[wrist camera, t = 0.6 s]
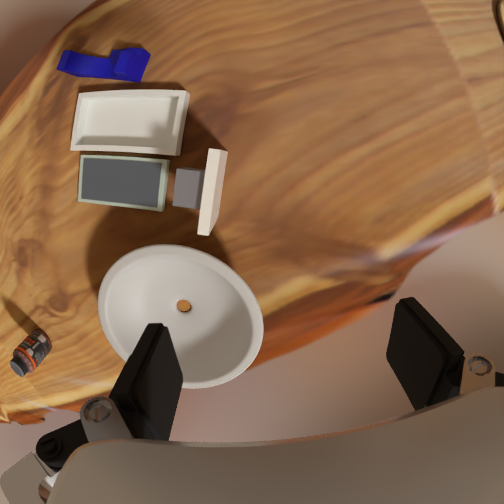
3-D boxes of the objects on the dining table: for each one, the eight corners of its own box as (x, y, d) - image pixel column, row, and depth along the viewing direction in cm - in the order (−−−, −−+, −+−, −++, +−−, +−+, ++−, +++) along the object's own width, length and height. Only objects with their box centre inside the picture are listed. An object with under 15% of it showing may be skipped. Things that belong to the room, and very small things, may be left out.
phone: (85, 154, 34) (80, 155, 33) (170, 159, 35) (167, 159, 34) (82, 200, 36) (77, 201, 35) (164, 210, 37) (161, 211, 36)
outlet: (194, 147, 35) (178, 144, 26) (227, 151, 35) (220, 149, 26) (186, 213, 37) (168, 229, 29) (217, 217, 38) (208, 235, 29)
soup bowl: (223, 379, 48) (221, 406, 41) (103, 326, 44) (88, 347, 38) (290, 274, 41) (297, 295, 34) (139, 202, 37) (119, 212, 31)
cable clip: (151, 55, 30) (135, 41, 24) (140, 82, 31) (123, 72, 26) (87, 51, 29) (67, 41, 23) (77, 76, 30) (56, 69, 24)
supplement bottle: (43, 326, 45) (15, 357, 34) (57, 349, 46) (32, 381, 36) (29, 329, 45) (2, 357, 34) (42, 350, 47) (18, 380, 36)
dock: (87, 95, 31) (79, 93, 29) (190, 94, 32) (186, 90, 30) (79, 150, 34) (70, 150, 32) (179, 155, 35) (175, 155, 33)
